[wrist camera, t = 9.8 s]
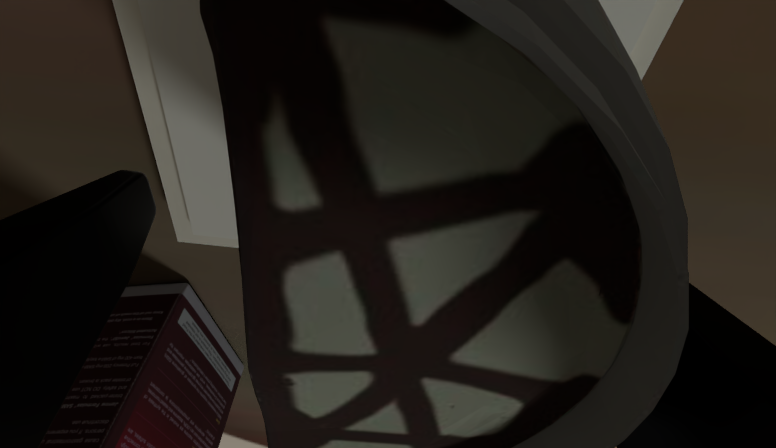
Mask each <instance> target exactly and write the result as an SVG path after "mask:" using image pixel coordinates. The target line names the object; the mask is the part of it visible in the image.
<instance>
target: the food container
mask: <svg viewBox="0 0 776 448" xmlns="http://www.w3.org/2000/svg"><path fill="white" fill-rule="evenodd" d="M200 15H201V18H202V21H203V24H204V28H205V31H206V34H207V37H208V41H209V44H210V47H211V50H212V54H213V59H214V64H215V70H216V75H217V81H218V86H219V92H220V97H221V103H222V108H223V116H224V124H225V132H226V140H227V148H228V157H229V165H230V173H231V181H232V189H233V197H234V205H235V215H236V225H237V235H238V245H239V255H240V265H241V275H242V288H243V304H244V320H245V333H246V345H247V357H248V369H249V373H250V377H251V380H252V384H253V388H254V391H255V395H256V397H257V400H258V403H259V405H260V408H261V411H262V415H263V418H264V422H265V428H266V435H267V442H268V448H615V447H616V446H617V445H619V444H620V443H621V442H623V441H624V440H625V439H626V438H627V437H628V436H629V435H630V434H631V433H632V432H633V431H634V430H635V429H636V428H637V427H638V426H639V425H640V424H641V422H642V421H643V420H644V419H645V418H646V417H647V416H648V415H649V414H650V413H651V412H652V411H653V410H654V408H655V406H656V405H657V403H658V401H659V400H660V398H661V396H662V395H663V393H664V392H665V390H666V388H667V387H668V385H669V383H670V382H671V380H672V378H673V377H674V375H675V373H676V370H677V366H678V363H679V360H680V356H681V353H682V350H683V346H684V343H685V340H686V336H687V333H688V330H689V272H688V269H687V264H688V218H687V214H686V210H685V206H684V203H683V199H682V195H681V191H680V187H679V184H678V180H677V176H676V172H675V168H674V165H673V161H672V157H671V153H670V149H669V147H668V144H667V142H666V140H665V137H664V135H663V132H662V130H661V128H660V125H659V123H658V120H657V118H656V115H655V113H654V111H653V108H652V106H651V103H650V101H649V98H648V96H647V94H646V91H645V89H644V86H643V84H642V82H641V79H640V77H639V74H638V72H637V69H636V67H635V66H634V64H633V62H632V60H631V58H630V57H629V55H628V53H627V51H626V49H625V47H624V46H623V44H622V42H621V40H620V38H619V37H618V35H617V33H616V31H615V29H614V27H613V26H612V24H611V22H610V20H609V18H608V17H607V15H606V13H605V11H604V9H603V7H602V6H601V4H600V2H599V0H200Z"/></svg>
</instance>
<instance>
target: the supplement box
mask: <svg viewBox="0 0 776 448" xmlns="http://www.w3.org/2000/svg"><path fill="white" fill-rule="evenodd" d="M243 367H244V366H243V364H242V362H241V361H240V360H239V358H238V357H237V355H236V354H235V352H234V351H233V349H232V348H231V346H230V345H229V343H228V342H227V340H226V339H225V337H224V336H223V334H222V333H221V331H220V330H219V328H218V327H217V325H216V324H215V322H214V321H213V319H212V318H211V316H210V315H209V313H208V312H207V310H206V309H205V307H204V306H203V304H202V303H201V301H200V300H199V298H198V297H197V295H196V294H195V292H194V291H193V289H192V288H191V286H190V285H189V284H188V283H170V284H153V285H141V286H128V287H126V288H125V290H124V292H123V293H122V295H121V297H120V299H119V301H118V303H117V305H116V306H115V308H114V310H113V312H112V314H111V316H110V317H109V319H108V321H107V323H106V325H105V327H104V328H103V330H102V332H101V334H100V336H99V338H98V339H97V341H96V343H95V345H94V347H93V349H92V350H91V352H90V354H89V356H88V358H87V360H86V361H85V363H84V365H83V367H82V369H81V371H80V372H79V374H78V376H77V378H76V380H75V382H74V383H73V385H72V387H71V389H70V391H69V393H68V395H67V396H66V398H65V400H64V402H63V404H62V406H61V407H60V409H59V411H58V413H57V415H56V417H55V418H54V420H53V422H52V424H51V426H50V428H49V429H48V431H47V433H46V435H45V437H44V439H43V440H42V442H41V444H40V446H39V448H218V447H219V443H220V440H221V437H222V434H223V431H224V428H225V424H226V421H227V418H228V415H229V412H230V408H231V405H232V402H233V399H234V396H235V393H236V390H237V387H238V383H239V380H240V377H241V374H242V371H243Z"/></svg>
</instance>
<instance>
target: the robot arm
mask: <svg viewBox="0 0 776 448" xmlns="http://www.w3.org/2000/svg"><path fill="white" fill-rule="evenodd" d="M155 213H156V206H155V202H154V198H153V195H152V192H151V188H150V185H149V182H148V179H147V177H146V175H145V174H144V173H142V172H137V171H128V170H120V171H117V172H114V173H112V174H110V175H107V176H105V177H103V178H100V179H98V180H95V181H93V182H91V183H88V184H86V185H83V186H81V187H79V188H76V189H74V190H71V191H69V192H67V193H64V194H62V195H59V196H57V197H55V198H52V199H50V200H47V201H45V202H43V203H40V204H38V205H36V206H33V207H31V208H28V209H26V210H24V211H21V212H19V213H16V214H14V215H12V216H9V217H7V218H4V219H2V220H0V448H39V446H40V444H41V442H42V440H43V439H44V437H45V435H46V433H47V431H48V429H49V428H50V426H51V424H52V422H53V420H54V418H55V417H56V415H57V413H58V411H59V409H60V407H61V406H62V404H63V402H64V400H65V398H66V396H67V395H68V393H69V391H70V389H71V387H72V385H73V383H74V382H75V380H76V378H77V376H78V374H79V372H80V371H81V369H82V367H83V365H84V363H85V361H86V360H87V358H88V356H89V354H90V352H91V350H92V349H93V347H94V345H95V343H96V341H97V339H98V338H99V336H100V334H101V332H102V330H103V328H104V327H105V325H106V323H107V321H108V319H109V317H110V316H111V314H112V312H113V310H114V308H115V306H116V305H117V303H118V301H119V299H120V297H121V295H122V293H123V292H124V290H125V288H126V286H127V284H128V282H129V280H130V278H131V275H132V273H133V271H134V268H135V266H136V263H137V261H138V258H139V256H140V253H141V251H142V248H143V246H144V243H145V240H146V238H147V235H148V233H149V230H150V228H151V225H152V223H153V220H154V218H155ZM617 448H776V346H775V345H774V344H772V343H771V342H770V341H768V340H767V339H765V338H764V337H763V336H761V335H760V334H759V333H757V332H756V331H754V330H753V329H752V328H750V327H749V326H748V325H746V324H745V323H744V322H742V321H741V320H739V319H738V318H737V317H735V316H734V315H733V314H731V313H730V312H728V311H727V310H726V309H724V308H723V307H722V306H720V305H719V304H718V303H716V302H715V301H713V300H712V299H711V298H709V297H708V296H707V295H705V294H704V293H703V292H701V291H700V290H698V289H697V288H696V287H694V286H693V285H692V284H690V283H689V330H688V333H687V336H686V340H685V343H684V346H683V350H682V353H681V356H680V360H679V363H678V366H677V370H676V373H675V375H674V377H673V378H672V380H671V382H670V383H669V385H668V387H667V388H666V390H665V392H664V393H663V395H662V396H661V398H660V400H659V401H658V403H657V405H656V406H655V408H654V410H653V411H652V412H651V413H650V414H649V415H648V416H647V417H646V418H645V419H644V420H643V421H642V422H641V424H640V425H639V426H638V427H637V428H636V429H635V430H634V431H633V432H632V433H631V434H630V435H629V436H628V437H627V438H626V439H625V440H624V441H623V442H621V443H620V444H619V445H617Z"/></svg>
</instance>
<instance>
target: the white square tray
mask: <svg viewBox="0 0 776 448" xmlns="http://www.w3.org/2000/svg"><path fill="white" fill-rule="evenodd" d="M112 1H113V5H114V9H115V12H116V16H117V20H118V23H119V27H120V31H121V34H122V38H123V42H124V45H125V49H126V53H127V56H128V60H129V64H130V67H131V71H132V75H133V78H134V82H135V86H136V89H137V93H138V97H139V100H140V104H141V108H142V111H143V115H144V119H145V122H146V126H147V130H148V133H149V137H150V141H151V144H152V148H153V152H154V155H155V159H156V163H157V166H158V170H159V174H160V177H161V181H162V185H163V188H164V192H165V196H166V199H167V203H168V207H169V210H170V214H171V218H172V221H173V225H174V229H175V232H176V236H177V240H178V242H187V243H197V244H206V245H216V246H225V247H235V248H239V245H238V235H237V225H236V215H235V205H234V197H233V189H232V181H231V173H230V165H229V157H228V148H227V140H226V132H225V124H224V116H223V108H222V103H221V97H220V92H219V86H218V81H217V75H216V70H215V64H214V59H213V54H212V50H211V47H210V44H209V41H208V37H207V34H206V31H205V28H204V24H203V21H202V18H201V15H200V0H112ZM599 2H600V4H601V6H602V7H603V9H604V11H605V13H606V15H607V17H608V18H609V20H610V22H611V24H612V26H613V27H614V29H615V31H616V33H617V35H618V37H619V38H620V40H621V42H622V44H623V46H624V47H625V49H626V51H627V53H628V55H629V57H630V58H631V60H632V62H633V64H634V66H635V67H636V69H637V72H638V74H639V77H640V79H641V80H642V78H643V76H644V75H645V73H646V71H647V69H648V67H649V65H650V63H651V61H652V59H653V57H654V55H655V54H656V52H657V50H658V48H659V46H660V44H661V42H662V40H663V38H664V36H665V35H666V33H667V31H668V29H669V27H670V25H671V23H672V21H673V19H674V17H675V16H676V14H677V12H678V10H679V8H680V6H681V4H682V2H683V0H599Z"/></svg>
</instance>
